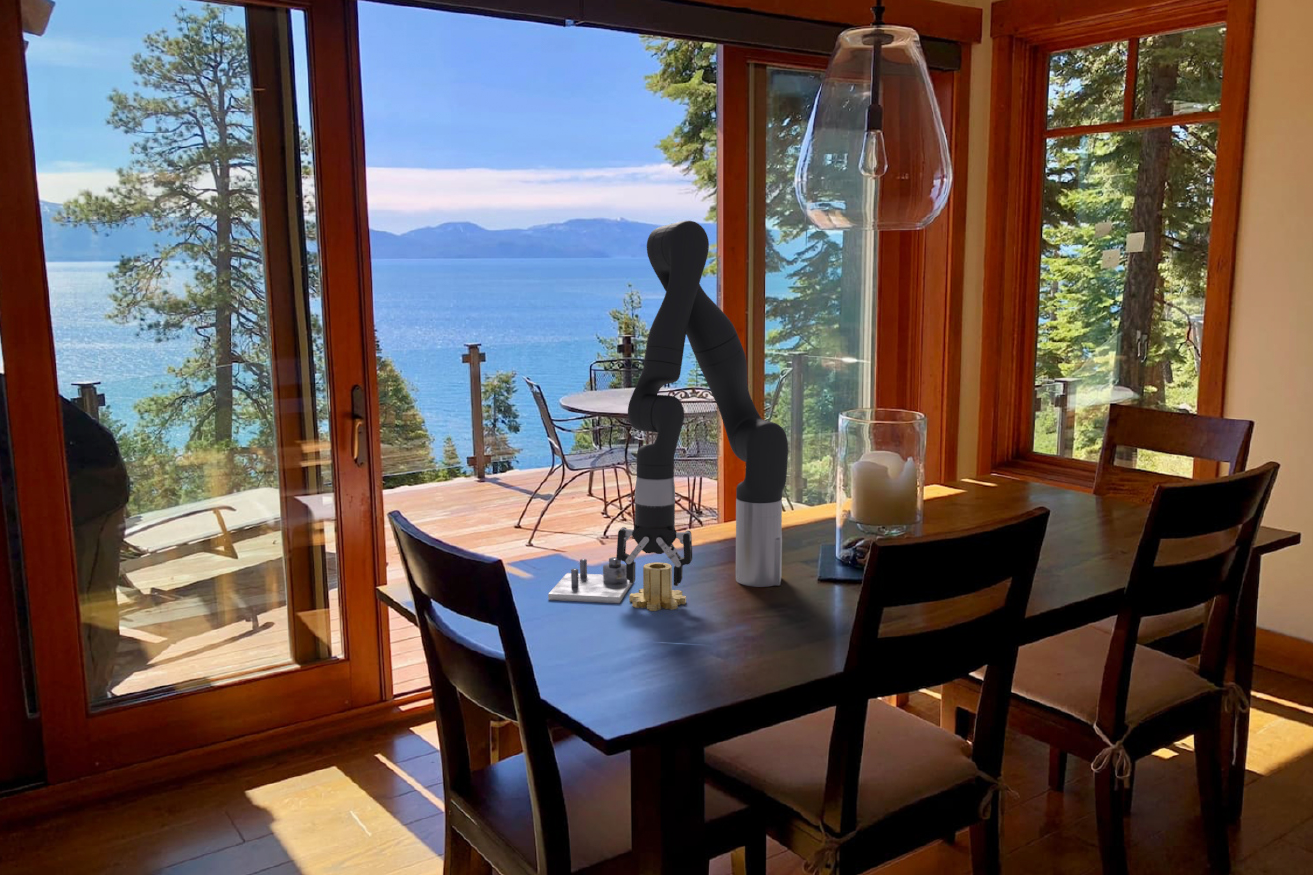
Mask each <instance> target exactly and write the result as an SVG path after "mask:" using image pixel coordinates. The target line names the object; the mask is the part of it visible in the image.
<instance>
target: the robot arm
mask: <svg viewBox="0 0 1313 875" xmlns="http://www.w3.org/2000/svg"><path fill="white" fill-rule="evenodd" d="M709 246H710V243H709V238H708V234H707V232H706V231H705V228H703V226H702V225H700V224H699V223H698V222H696V221H694V220H693V221H692V220H681V221H677V222H673V223H669V224H665V225H661V226H659V227H657V228H655V229H653V230H652V231H651V233H650V234H649V236H648V238H647V242H646V254H647V257H648V260H649V263H650V265H651V267H652V269H653V272H654V273H655V274H656V277H657V278H658V280H659V282H660V284H661V286H662V287H663V289H664V291H665V294H664V298H663V301H662V302H661V305H660V307H659V309H658V310H657V313H656V315H655V318H654V319H653V320H652V321H653V322H652V324H651V327H650V329H649V333H648V336H647V341H646V347H645V354H644V359H643V360H644V361H643V366H642V367H643V368H642V370H641V373H640V375H639V377H638V381H637V383H636V385H635V387H634V390H633V392H632V394H631V397H630V399H629V401H628V402H629V403H628V405H627V407H628V408H627V417H628V421H629V424H630V425H631V427H632V428H633V429H635V430H637V431H641V432H648V433H649V432H650V433H657V434H656V439H655V441H654V443H648V444H644V445H640V446H639V447H638V449H637V450H636V479H635V480H636V481H635V488H634V528H633V529H628V528H627V527H625V526H622V527H621V528H620V529H619V530H618V531H617V540H616V541H617V543H616V544H617V545H616V556H615V557H616V558H617V560H621V562H624V564H625V565H626V578H627V580H629V582H630V583H633V584H634V583H635V582H636V565H637V564H636V561H635V559H636V558H637V556H639V554H640V553H641V552H644V553H645V554H657V555H662V554H665V555H666V556H667V558H668V559H670V560H671V563H672V564H673V565H674V566H673V586H674V587H678V586H679V585H680V584H681V582H682V581H683V574H684V573H683V567H684V566H686V565H690V564H691V562H692V560H693V540H692V538H693V537H692V532H691V530H685V531H683V532H682V531H678V532H677V530H676V524H675V522H676V521H675V518H676V517H675V516H676V507H675V506H676V486H675V477H674V476H675V454H676V450H677V446H678V442H679V438H680V435H681V432H682V429H683V424H684V421H685V410H684V405H683V404H682V402H681V400H680V399H679V398H677V397H676V396H674V395H667V394H659V392H660V390H661V388H662V387H663V386H666V385H669V384H673V383H676V382H678V381H679V380H680V377H681V373H682V372H681V371H682V365H683V358H684V350H685V343H686V338H687V339H688V342H689V345H690V348H691V350H692V353H693V354H694V357H695V359H696V362H697V364H698V366H699V368H700V370H701V373H702V374H703V377H704V379H705V381H706V383H707V386H708V388H709V391H710V393H711V395H712V396H713V399H714V401H715V403H716V406H717V407H718V408H717V409H718V410H719V413H720V416H721V420H722V423H723V426H724V429H725V430H724V431H725V434H726V437H727V439H728V442H729V447H730V448H731V450H732V452H733V454H734V455H735V457H736V458H738V459H739V460H740V461H743V462H745V474H744V475H745V477H744V480H743V481H741V482H739V483H738V484H737V485H736V489H735V490H736V491H735V492H736V493H735V494H736V496H735V498H736V499H735V581H736V582H737V583H738V584H740V585H743V586H748V587H753V588H754V587H757V588H759V587H760V588H764V587H773V586H781V583H782V568H783V567H782V564H783V563H782V559H783V558H782V557H783V556H782V555H783V554H782V552H783V533H782V528H783V526H782V525H783V524H782V521H783V520H782V518H783V517H782V516H783V514H782V511H783V491H784V488H785V487H786V484H787V477H788V476H787V473H788V460H789V459H788V458H789V442H788V437H787V434H786V432H785V430H784V429H783V427H782V426H780V425H779V424H778V423H776V422H773V421H769V420H765V419H762V418H761V415H760V414H759V412H758V410H757V408H756V407H755V406H756V405H755V404H754V402H753V401H754V400H753V399H752V398H751V395H750V391H749V385H748V367H747V366H748V365H747V356H746V353H745V349H744V348H743V344H742V342H741V340H740V338H739V334H738V332H737V330H736V328H735V326H734V324H733V323H732V321H731V320H730V318H729V317H728V316H727V315H726V313H724V312H723V310H722V309H721V308H720V307H719V306H718V305H717V304H716V303H715V302H714V301H713V300H712V299H711V298H710V296H708V294H707V293H706V292H705V291H704V289H703V287H702V285H701V284H700V283H701V279H702V277H703V272H704V270H705V267H706V262H707V260H708V257H709V256H708V255H709V249H710V248H709ZM631 536H632V538H633V539H634V541H635V543H636V544H637V545H636V546H635V548H634V549H633V550H632V551H631V553H630V554H628V553H627V552H626V551H627V541H628V540H629V539H630V538H631ZM677 539H678V540H679V543H680V544H682V545H683V547H682V548H683V556H681V555H680V553H679V552H678V550H677V548H676V546H675V545H674V542H675V541H676V540H677Z"/></svg>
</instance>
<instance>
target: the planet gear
mask: <svg viewBox="0 0 1313 875" xmlns="http://www.w3.org/2000/svg"><path fill="white" fill-rule="evenodd" d="M672 572H673V566H672V565H671V564H670V563H667V562H658V561H657V562H649V563H646V564H644V565H643V569H642V575H643V579H642V582H643V584H642V586H643V587H642V588H639V589H638V592H635V593H633V592H632V593H629V596H628V597H629V602H630V603H632V607H634V608H636V609H639V608H641V609H644V608H646V609H647V610H648V611H649V612H651V611H652V612H657V611H660V610H661V609H665V610H670V611H672V610H677V609H678V606H680V605H686V603H687V596H686V595H683V591H681V589H676V590H674V589H672V588H673V577H672V576H673V573H672Z"/></svg>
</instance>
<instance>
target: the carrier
mask: <svg viewBox="0 0 1313 875" xmlns="http://www.w3.org/2000/svg"><path fill="white" fill-rule="evenodd" d="M633 584H634V583H630V582H629V580H627V578H626V563H622V560H617V558H616V556H614V557H609V558H608V563H606V564H604V565H603V566H602V574H601V573H600V574H599V573H598V574H596V573H595V574H594V573H588V559H587V558H581V559H579V569H578V568H570V572H566V573H565V575H563V577H562V578H561V579H560V580H559V581H558V582H557V583H556V584H555V586H554V587H553V588H552V589H551V590H550V591H549V592H548V595H547V596H548V597H547V599H548V601H562V602H563V601H564V602H565V601H566V602H585V603H586V602H587V603H602V604H603V603H605V604H606V603H607V604H621V602H622V601H623V599H624V597H625V596H626V595H627V593H628V591H629V590H630V588H631V587H632V585H633Z"/></svg>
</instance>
